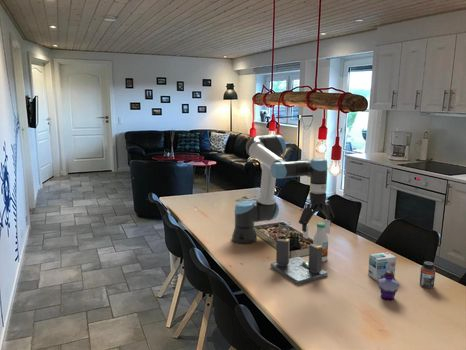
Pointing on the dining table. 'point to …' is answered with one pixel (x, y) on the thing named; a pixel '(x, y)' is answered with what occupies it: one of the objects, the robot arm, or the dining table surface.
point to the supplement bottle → (427, 275)
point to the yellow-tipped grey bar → (282, 252)
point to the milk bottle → (321, 240)
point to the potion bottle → (388, 286)
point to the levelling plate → (298, 271)
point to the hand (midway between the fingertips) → (316, 235)
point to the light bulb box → (381, 265)
